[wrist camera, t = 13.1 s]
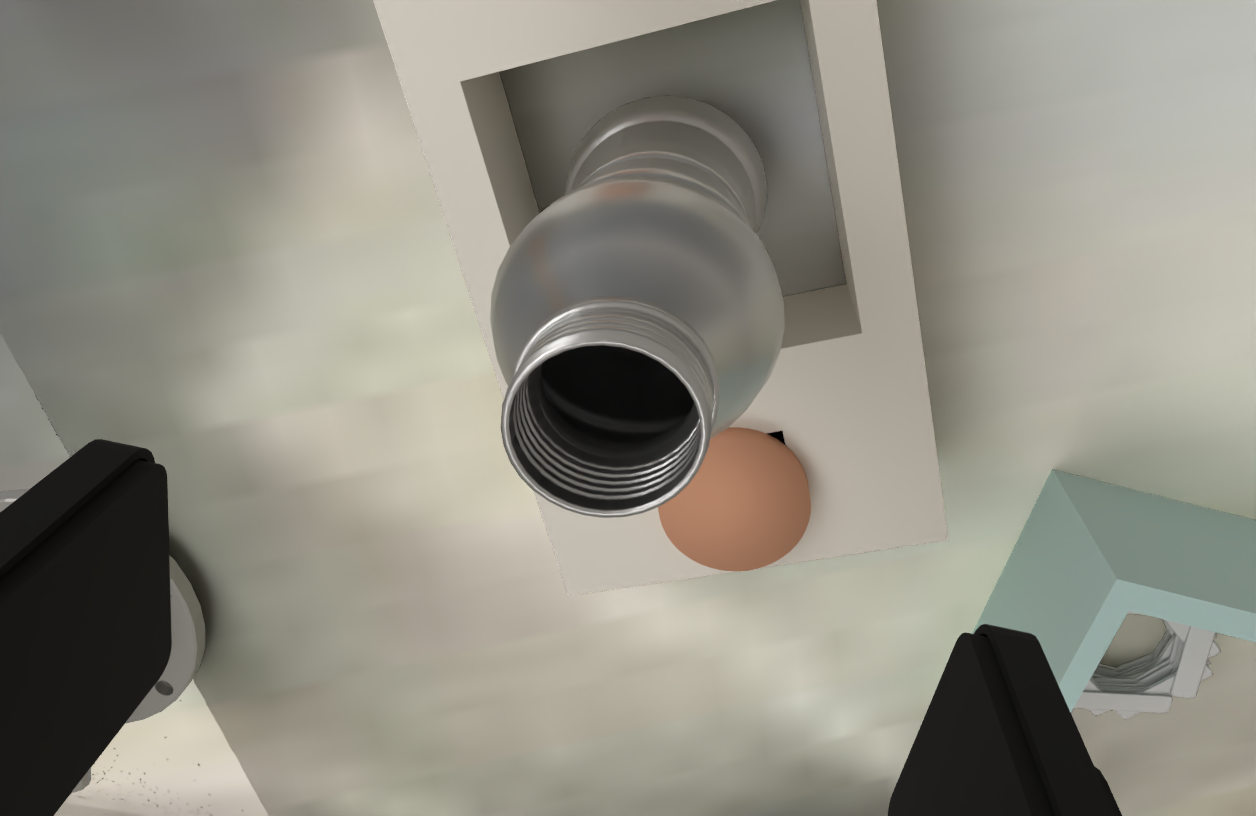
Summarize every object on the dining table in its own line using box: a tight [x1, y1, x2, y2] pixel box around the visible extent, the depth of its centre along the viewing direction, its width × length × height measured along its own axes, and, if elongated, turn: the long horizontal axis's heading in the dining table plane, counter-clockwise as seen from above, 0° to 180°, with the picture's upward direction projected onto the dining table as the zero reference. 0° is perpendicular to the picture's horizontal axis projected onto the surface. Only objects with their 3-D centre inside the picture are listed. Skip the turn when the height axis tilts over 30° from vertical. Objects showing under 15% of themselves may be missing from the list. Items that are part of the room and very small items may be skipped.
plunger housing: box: [373, 0, 949, 596], centre depth 33 cm, size 27×14×5 cm, turn 14°
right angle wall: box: [972, 469, 1256, 720], centre depth 38 cm, size 12×12×8 cm
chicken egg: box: [658, 427, 811, 571], centre depth 36 cm, size 5×5×6 cm
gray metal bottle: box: [490, 96, 785, 518], centre depth 26 cm, size 6×7×20 cm
